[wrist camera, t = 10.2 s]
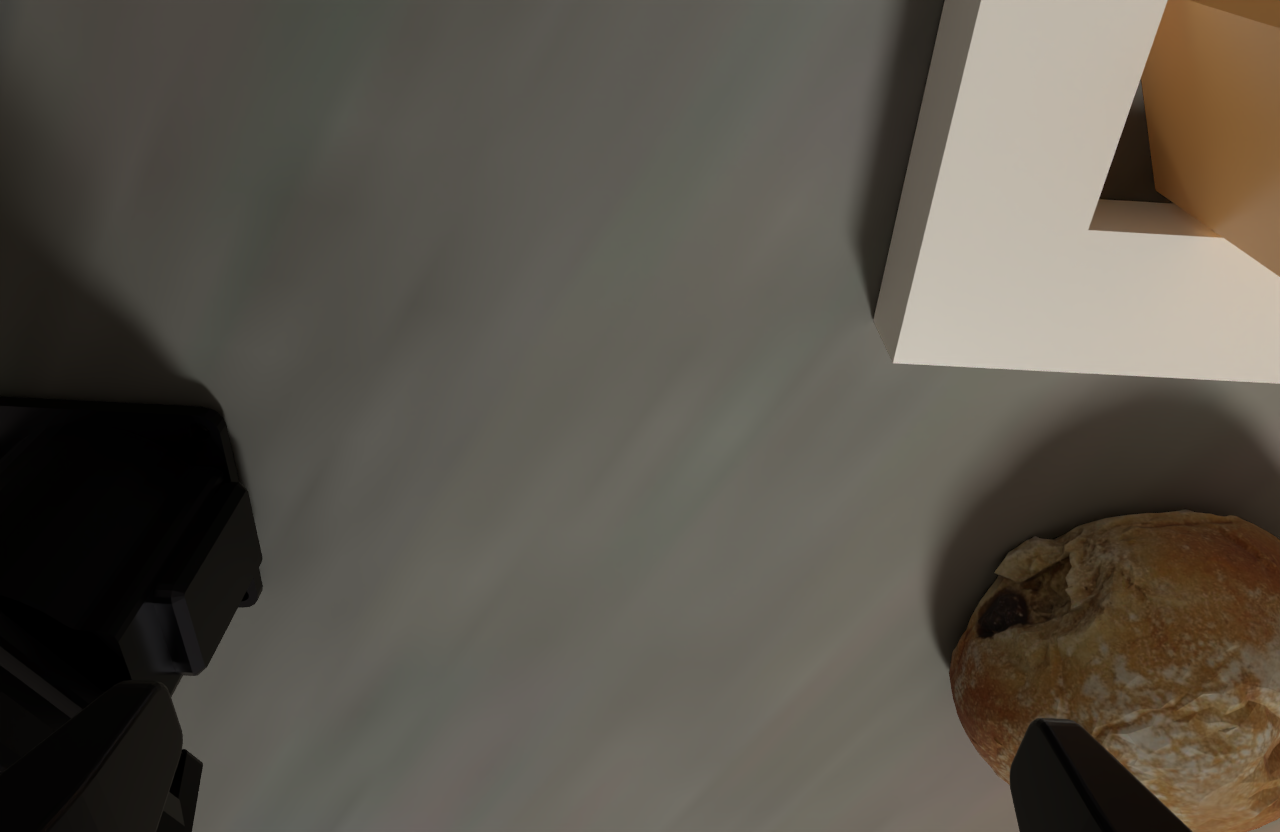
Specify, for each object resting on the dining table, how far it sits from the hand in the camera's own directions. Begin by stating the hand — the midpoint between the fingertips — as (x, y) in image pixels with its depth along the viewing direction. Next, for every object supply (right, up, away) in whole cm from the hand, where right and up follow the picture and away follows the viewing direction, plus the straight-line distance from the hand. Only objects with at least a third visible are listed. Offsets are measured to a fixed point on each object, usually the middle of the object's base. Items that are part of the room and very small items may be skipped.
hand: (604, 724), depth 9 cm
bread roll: (+15, -3, +18) cm, 23 cm away
